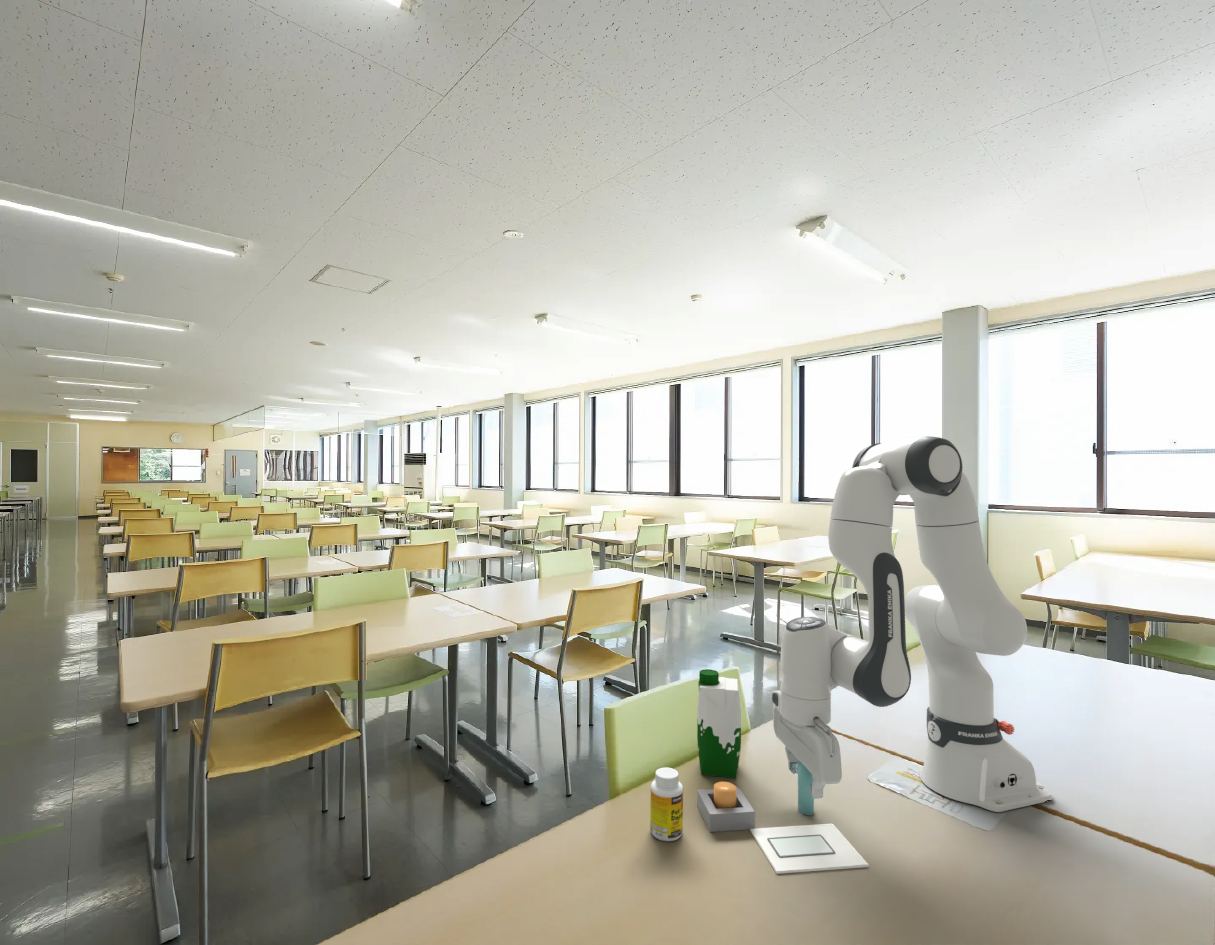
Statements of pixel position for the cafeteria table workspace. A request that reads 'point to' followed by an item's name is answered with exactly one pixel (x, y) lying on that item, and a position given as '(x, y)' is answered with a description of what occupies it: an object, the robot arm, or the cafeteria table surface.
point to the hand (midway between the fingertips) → (804, 783)
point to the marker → (805, 790)
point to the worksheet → (807, 848)
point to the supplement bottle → (666, 805)
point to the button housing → (725, 813)
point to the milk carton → (718, 724)
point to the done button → (724, 795)
